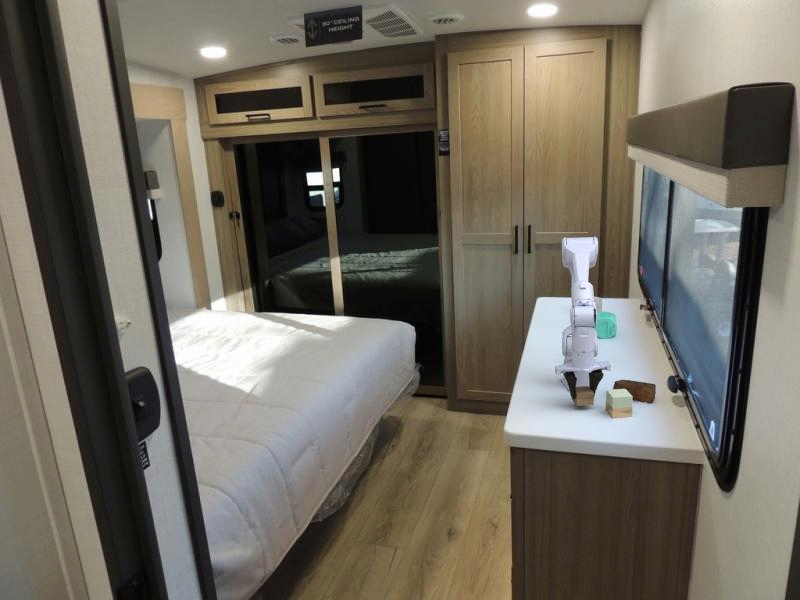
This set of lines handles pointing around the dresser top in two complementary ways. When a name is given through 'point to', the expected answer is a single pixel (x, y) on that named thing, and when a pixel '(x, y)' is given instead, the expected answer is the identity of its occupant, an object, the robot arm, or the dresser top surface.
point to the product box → (598, 303)
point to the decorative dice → (606, 325)
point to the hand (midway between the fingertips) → (582, 396)
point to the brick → (638, 390)
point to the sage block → (619, 398)
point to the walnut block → (584, 396)
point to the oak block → (618, 411)
